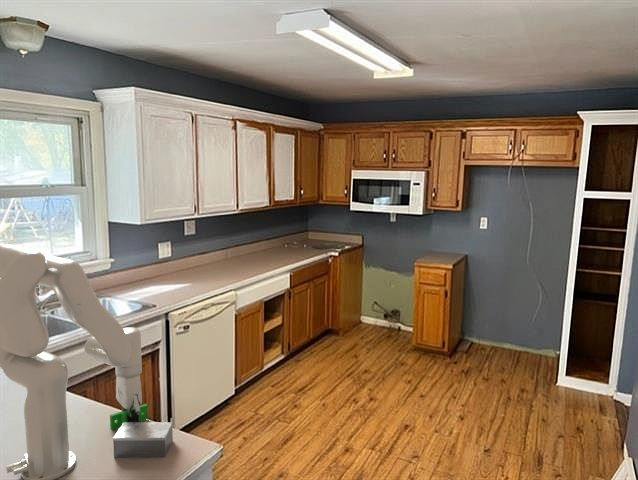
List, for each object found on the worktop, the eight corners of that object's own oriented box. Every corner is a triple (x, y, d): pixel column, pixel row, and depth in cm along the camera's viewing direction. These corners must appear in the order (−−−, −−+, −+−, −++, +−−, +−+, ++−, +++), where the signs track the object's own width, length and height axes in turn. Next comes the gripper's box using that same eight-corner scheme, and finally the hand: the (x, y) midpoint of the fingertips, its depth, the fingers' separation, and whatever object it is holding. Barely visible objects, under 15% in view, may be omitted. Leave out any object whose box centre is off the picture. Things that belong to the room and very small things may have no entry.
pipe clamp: (114, 434, 141) (113, 420, 140) (110, 428, 144) (109, 414, 143) (150, 421, 148) (150, 408, 148) (146, 416, 151) (146, 403, 150)
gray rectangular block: (114, 457, 129) (113, 437, 129) (124, 441, 137) (123, 422, 136) (165, 457, 130) (164, 437, 129) (172, 441, 138) (172, 422, 137)
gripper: (107, 362, 147) (109, 416, 150) (125, 381, 135) (127, 439, 137) (131, 356, 152) (133, 409, 155) (151, 374, 140) (153, 431, 142)
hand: (130, 423), depth 146 cm, fingers closed on pipe clamp, 3 cm apart
